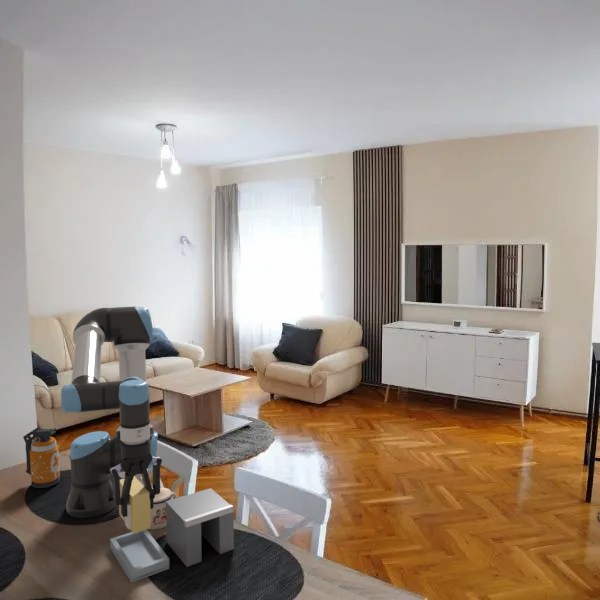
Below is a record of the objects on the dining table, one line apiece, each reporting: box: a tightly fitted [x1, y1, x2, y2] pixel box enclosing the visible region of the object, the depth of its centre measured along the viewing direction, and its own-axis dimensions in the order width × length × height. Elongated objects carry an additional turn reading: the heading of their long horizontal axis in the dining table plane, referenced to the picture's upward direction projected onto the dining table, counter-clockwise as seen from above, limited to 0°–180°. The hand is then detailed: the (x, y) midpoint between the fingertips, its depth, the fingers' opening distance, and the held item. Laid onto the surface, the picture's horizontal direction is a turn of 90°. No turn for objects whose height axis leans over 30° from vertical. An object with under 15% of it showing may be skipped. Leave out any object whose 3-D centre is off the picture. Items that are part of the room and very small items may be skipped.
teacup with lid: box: [149, 486, 178, 531], centre depth 160 cm, size 12×9×12 cm
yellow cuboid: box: [118, 475, 151, 534], centre depth 143 cm, size 12×4×10 cm, turn 36°
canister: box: [22, 427, 61, 489], centre depth 183 cm, size 9×11×20 cm
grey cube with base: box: [165, 487, 235, 567], centre depth 147 cm, size 14×14×13 cm
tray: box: [109, 529, 170, 583], centre depth 142 cm, size 18×10×3 cm, turn 36°
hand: (137, 523), depth 141 cm, fingers closed on yellow cuboid, 4 cm apart
